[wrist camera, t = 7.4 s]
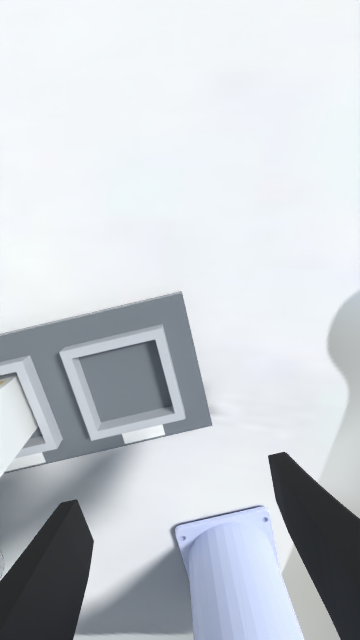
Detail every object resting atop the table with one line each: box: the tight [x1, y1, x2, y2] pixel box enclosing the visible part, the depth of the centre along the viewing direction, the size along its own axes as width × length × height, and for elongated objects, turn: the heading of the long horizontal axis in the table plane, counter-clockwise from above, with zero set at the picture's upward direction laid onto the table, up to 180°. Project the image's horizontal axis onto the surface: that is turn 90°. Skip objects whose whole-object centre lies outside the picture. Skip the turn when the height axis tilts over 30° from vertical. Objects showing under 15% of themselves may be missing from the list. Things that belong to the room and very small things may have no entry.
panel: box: [0, 292, 212, 474], centre depth 18 cm, size 10×19×2 cm, turn 103°
